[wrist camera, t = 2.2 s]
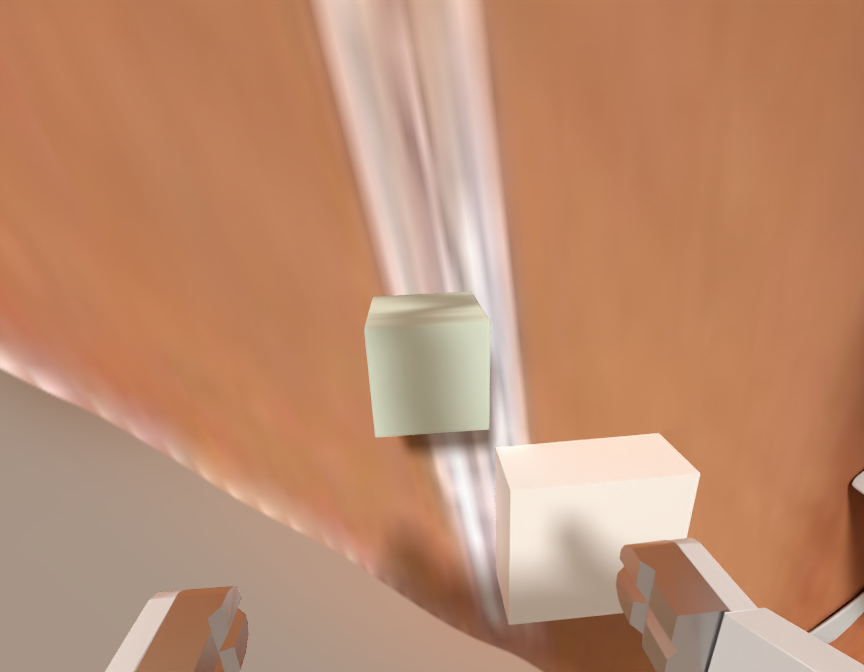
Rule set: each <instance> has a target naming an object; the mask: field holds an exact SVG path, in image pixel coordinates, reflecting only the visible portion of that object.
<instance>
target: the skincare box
mask: <svg viewBox="0 0 864 672" xmlns="http://www.w3.org/2000/svg"><path fill="white" fill-rule="evenodd" d="M852 486H853V487H854V488H855V489H857V490H858V491H859V492H861V493H862V494H863V495H864V471H863V472H862V473H860V474H859V475H858V476H857V477H856V478H855V479H854V480H853V482H852Z"/></svg>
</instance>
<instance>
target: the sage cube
mask: <svg viewBox="0 0 864 672" xmlns="http://www.w3.org/2000/svg"><path fill="white" fill-rule="evenodd" d="M364 332H365V342H366V352H367V361H368V371H369V381H370V390H371V400H372V410H373V419H374V429H375V437H389V436H403V435H417V434H431V433H445V432H459V431H473V430H487V429H489V415H490V334H491V321H490V320H489V318H488V317H487V315H486V314H485V312H484V311H483V309H482V307H481V306H480V304H479V303H478V301H477V300H476V298H475V297H474V295H473V294H472V292H454V293H436V294H417V295H399V296H381V297H373V299H372V303H371V306H370V310H369V313H368V317H367V321H366V324H365V328H364Z"/></svg>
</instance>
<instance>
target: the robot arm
mask: <svg viewBox="0 0 864 672" xmlns="http://www.w3.org/2000/svg"><path fill="white" fill-rule="evenodd" d="M620 560H621V562H622V563H623V565H624V567H623V568H622V569H621V570H620V571H619V572H618V574H617V580H616V589H617V594H618V600H619V602H620V605H621V608H622V610H623V613H624V614H625V616H626V618H627V620H628V622H629V624H630V625H632V626H633V627H634V628H635V629H637V630H638V631H639V632H641V633H642V634H643V639H642V648H643V650H644V651H645V653H646V655H647V657H648V659H649V660H650V662H651V664H652V666H653V668H654V669H655V671H656V672H864V665H862V664H861V663H859V662H857V661H856V660H854V659H852V658H850V657H849V656H847V655H845V654H844V653H842V652H840V651H838V650H837V649H835V648H833V647H832V646H830V645H828V644H827V643H825V642H823V641H821V640H820V639H818V638H816V637H815V636H813V635H811V634H809V633H808V632H806V631H804V630H803V629H801V628H799V627H798V626H796V625H794V624H792V623H791V622H789V621H787V620H786V619H784V618H782V617H780V616H779V615H777V614H775V613H774V612H772V611H770V610H768V609H767V608H757V607H756V605H755V604H754V603H753V602H752V601H751V600H750V599H749V598H748V596H747V595H746V594H745V593H744V592H743V591H742V590H741V588H740V587H739V586H738V585H737V584H736V583H735V582H734V581H733V579H732V578H731V577H730V576H729V575H728V574H727V573H726V572H725V570H724V569H723V568H722V567H721V566H720V565H719V564H718V563H717V561H716V560H715V559H714V558H713V557H712V556H711V555H710V553H709V552H708V551H707V550H706V549H705V548H704V547H703V546H702V544H701V543H700V542H699V541H697V540H695V539H694V538H684V539H675V540H662V541H653V542H645V543H637V544H628V545H624V546H623V548H622V549H621V552H620ZM240 601H241V595H240V592H239V589H238V587H236V586H235V587H234V586H231V587H218V588H204V589H191V590H182V591H171V592H158V593H157V594H155V595H154V596H153V597H152V598H151V599H150V600H149V601H148V602H147V604H146V605H145V607H144V609H143V611H142V612H141V614H140V615H139V617H138V619H137V620H136V622H135V623H134V625H133V627H132V628H131V630H130V632H129V633H128V635H127V636H126V638H125V640H124V641H123V643H122V645H121V646H120V648H119V649H118V651H117V653H116V654H115V656H114V658H113V659H112V661H111V663H110V664H109V666H108V667H107V669H106V671H105V672H239V671H240V670H241V666H242V663H243V660H244V657H245V653H246V648H247V641H248V621H247V617H246V614H245V613H244V612H242V611H241V610H239V609H238V606H239V603H240Z"/></svg>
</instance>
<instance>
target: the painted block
mask: <svg viewBox="0 0 864 672" xmlns="http://www.w3.org/2000/svg"><path fill="white" fill-rule="evenodd" d="M699 477H700V473H699V472H698V471H697V470H696V469H695V468H694V467H693V466H692V465H691V464H690V463H689V462H688V461H687V460H686V459H685V458H684V457H683V456H682V455H681V454H680V453H679V452H678V451H677V450H676V449H675V448H674V447H673V446H672V445H670V444H669V443H668V442H667V441H666V440H665V439H664V438H663V437H662V436H661V435H660V434H659V433H656V434H645V435H633V436H622V437H610V438H599V439H588V440H576V441H565V442H553V443H542V444H531V445H519V446H508V447H496V448H495V493H496V574H497V579H498V583H499V587H500V591H501V595H502V600H503V604H504V608H505V612H506V616H507V621H508V625H515V624H524V623H534V622H543V621H553V620H562V619H572V618H581V617H591V616H600V615H610V614H619V613H623V610H622V608H621V605H620V602H619V600H618V594H617V589H616V580H617V574H618V572H619V571H620V570H621V569H622V568H623V567H624V565H623V563H622V562H621V560H620V552H621V549H622V548H623V546H624V545H628V544H637V543H645V542H653V541H662V540H675V539H684V538H687V533H688V529H689V524H690V519H691V515H692V510H693V505H694V501H695V496H696V491H697V487H698V482H699Z"/></svg>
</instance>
